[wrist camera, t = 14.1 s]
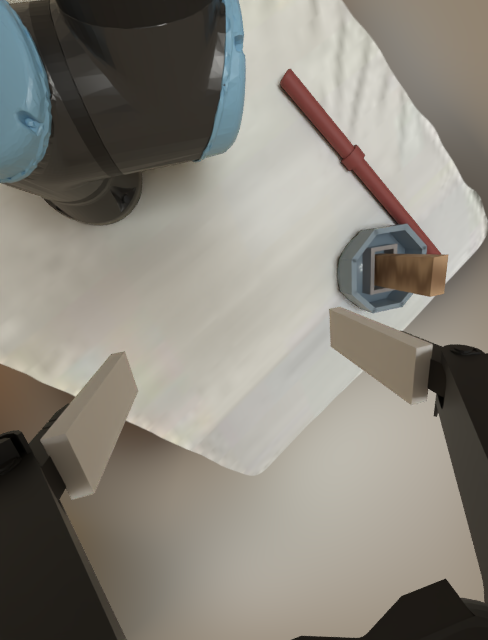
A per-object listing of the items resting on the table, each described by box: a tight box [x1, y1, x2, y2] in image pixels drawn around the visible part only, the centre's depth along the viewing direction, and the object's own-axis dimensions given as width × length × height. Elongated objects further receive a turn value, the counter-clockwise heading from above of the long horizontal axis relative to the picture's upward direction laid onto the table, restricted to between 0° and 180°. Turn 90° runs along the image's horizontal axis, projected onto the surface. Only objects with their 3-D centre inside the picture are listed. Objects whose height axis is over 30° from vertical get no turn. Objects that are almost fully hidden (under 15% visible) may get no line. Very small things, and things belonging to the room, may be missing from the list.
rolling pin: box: [280, 69, 441, 255], centre depth 44 cm, size 45×3×3 cm, turn 52°
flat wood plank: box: [374, 253, 448, 297], centre depth 43 cm, size 6×2×14 cm, turn 8°
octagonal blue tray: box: [337, 224, 427, 313], centre depth 48 cm, size 16×16×5 cm
